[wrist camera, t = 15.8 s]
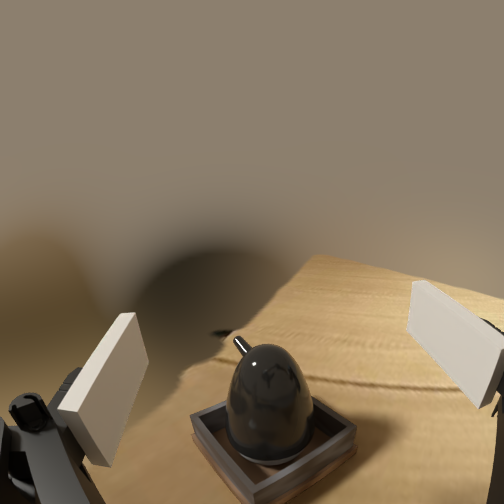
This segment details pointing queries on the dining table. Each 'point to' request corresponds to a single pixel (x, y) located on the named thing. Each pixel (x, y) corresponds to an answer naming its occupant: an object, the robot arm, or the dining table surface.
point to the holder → (274, 476)
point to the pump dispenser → (268, 405)
